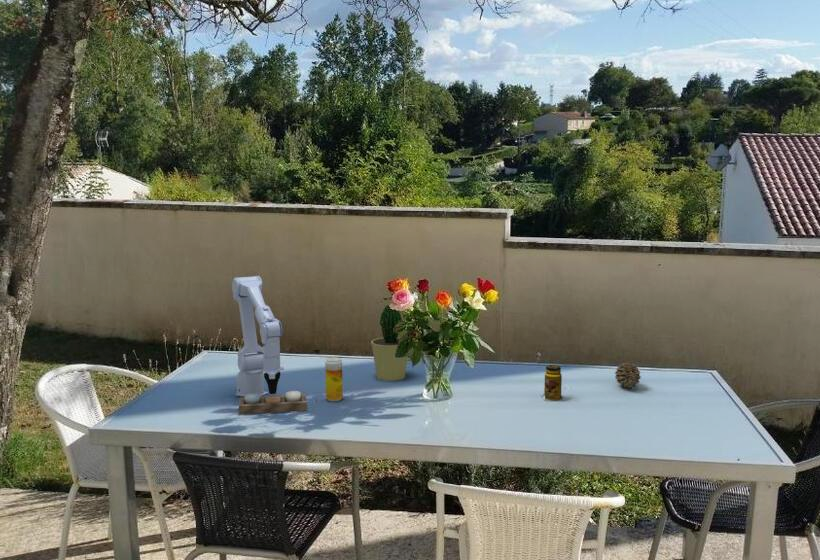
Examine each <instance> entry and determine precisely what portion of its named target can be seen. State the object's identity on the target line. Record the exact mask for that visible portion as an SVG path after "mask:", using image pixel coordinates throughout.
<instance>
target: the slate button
mask: <svg viewBox="0 0 820 560" xmlns="http://www.w3.org/2000/svg"><path fill="white" fill-rule="evenodd" d="M256 403H260V394H258V393H250V394H246V395H245V404H256Z"/></svg>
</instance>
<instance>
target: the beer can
mask: <svg viewBox="0 0 820 560" xmlns="http://www.w3.org/2000/svg"><path fill="white" fill-rule="evenodd" d="M324 363H325V398H326V399H327V401H328V402H333V403H334V402H341V401H342V399H343V395H344V394H343V392H344V391H343V390H344V389H343V388H344V387H343V386H344V385H343V384H344V383H343V360H342V358H340V357H327V358H326V360H325V362H324Z"/></svg>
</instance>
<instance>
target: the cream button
mask: <svg viewBox="0 0 820 560" xmlns="http://www.w3.org/2000/svg"><path fill="white" fill-rule="evenodd" d="M301 394H302V393H301V391H296V390H289V391H287V392H285V395H286V402H292V401H301Z"/></svg>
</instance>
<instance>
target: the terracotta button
mask: <svg viewBox="0 0 820 560" xmlns="http://www.w3.org/2000/svg"><path fill="white" fill-rule="evenodd" d="M270 396H271V397H267V398H266V399H265V401H266V403H274V402H281V398H280V397H278V396H279V395H270Z"/></svg>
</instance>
